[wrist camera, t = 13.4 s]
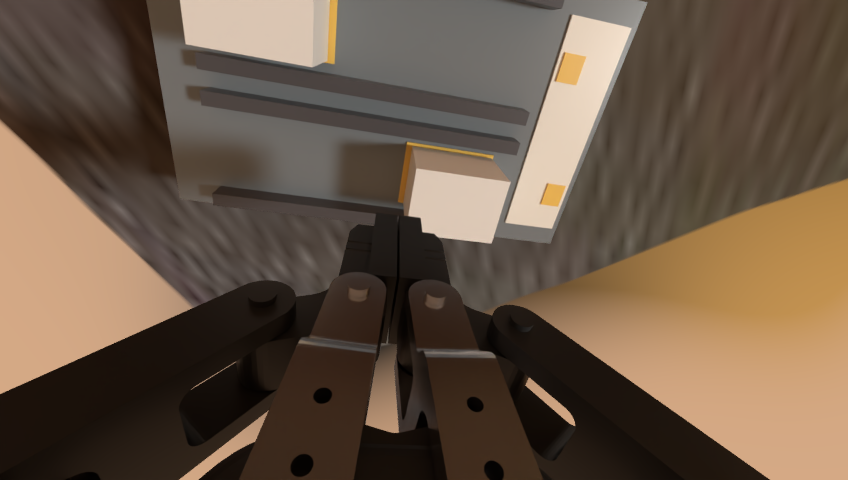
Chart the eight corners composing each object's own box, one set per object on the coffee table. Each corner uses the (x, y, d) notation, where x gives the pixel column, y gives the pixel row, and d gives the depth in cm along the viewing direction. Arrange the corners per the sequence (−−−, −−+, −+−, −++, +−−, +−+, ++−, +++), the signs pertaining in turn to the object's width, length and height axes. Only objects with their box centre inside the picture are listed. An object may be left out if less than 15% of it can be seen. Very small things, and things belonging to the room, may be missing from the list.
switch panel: (610, 7, 18) (662, 0, 14) (532, 220, 24) (556, 252, 20) (172, -97, 15) (104, -138, 11) (206, 177, 20) (169, 207, 17)
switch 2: (491, 158, 18) (510, 182, 15) (476, 212, 19) (491, 243, 16) (412, 146, 17) (416, 168, 14) (403, 202, 19) (405, 233, 16)
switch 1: (331, -26, 14) (314, -42, 11) (327, 61, 15) (312, 67, 12) (218, -51, 13) (170, -75, 10) (226, 42, 14) (185, 44, 12)
